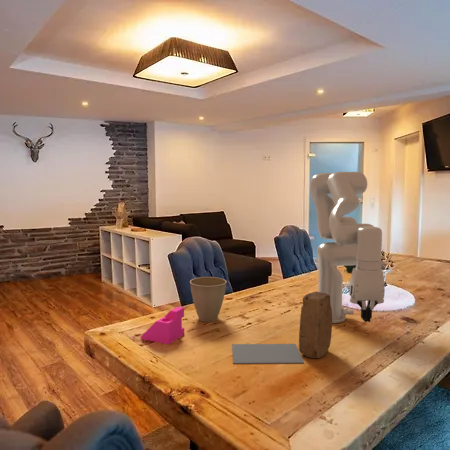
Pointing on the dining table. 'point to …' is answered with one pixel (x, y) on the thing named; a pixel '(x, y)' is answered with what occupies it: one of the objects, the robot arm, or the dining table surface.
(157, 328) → the bracket
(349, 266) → the toy figurine
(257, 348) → the mat
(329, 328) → the block
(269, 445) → the dining table surface
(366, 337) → the dining table surface
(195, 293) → the plant pot
